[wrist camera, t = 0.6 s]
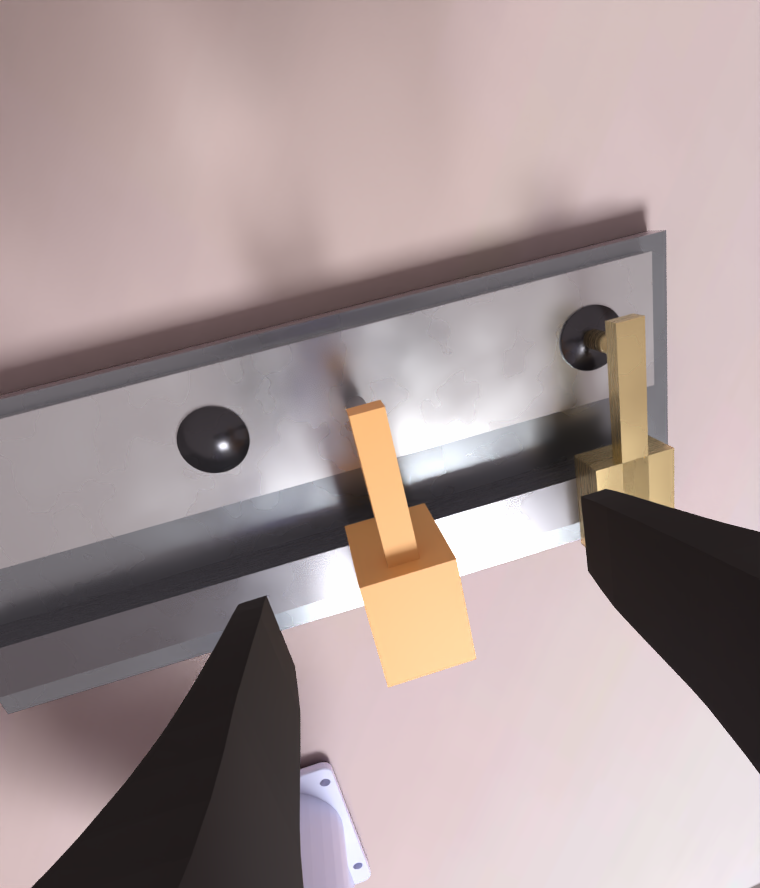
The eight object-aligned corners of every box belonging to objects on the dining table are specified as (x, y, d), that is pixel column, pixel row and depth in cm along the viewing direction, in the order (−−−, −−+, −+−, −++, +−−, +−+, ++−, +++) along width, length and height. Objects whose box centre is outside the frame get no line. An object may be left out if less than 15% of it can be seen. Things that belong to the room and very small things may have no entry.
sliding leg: (438, 579, 21) (476, 659, 17) (366, 601, 21) (388, 687, 17) (391, 366, 18) (425, 402, 14) (305, 389, 17) (313, 433, 13)
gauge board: (653, 502, 24) (720, 547, 21) (19, 694, 22) (-34, 785, 18) (648, 230, 20) (732, 227, 16) (-154, 434, 17) (-272, 485, 14)
